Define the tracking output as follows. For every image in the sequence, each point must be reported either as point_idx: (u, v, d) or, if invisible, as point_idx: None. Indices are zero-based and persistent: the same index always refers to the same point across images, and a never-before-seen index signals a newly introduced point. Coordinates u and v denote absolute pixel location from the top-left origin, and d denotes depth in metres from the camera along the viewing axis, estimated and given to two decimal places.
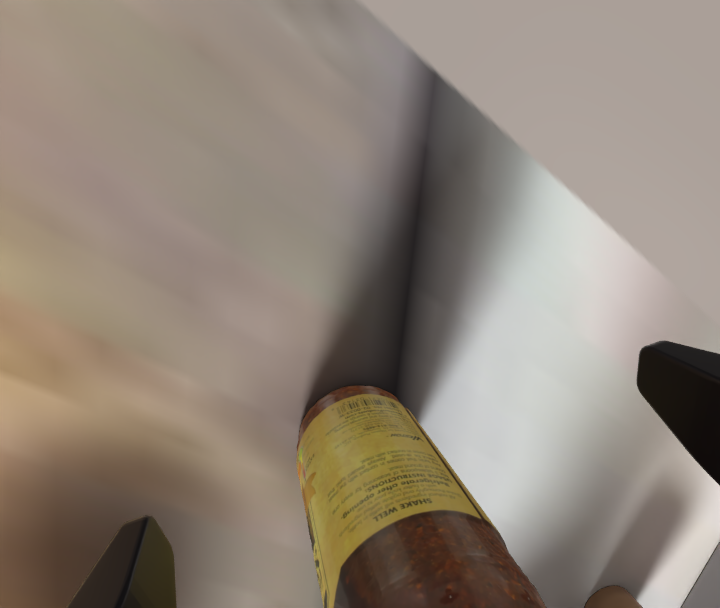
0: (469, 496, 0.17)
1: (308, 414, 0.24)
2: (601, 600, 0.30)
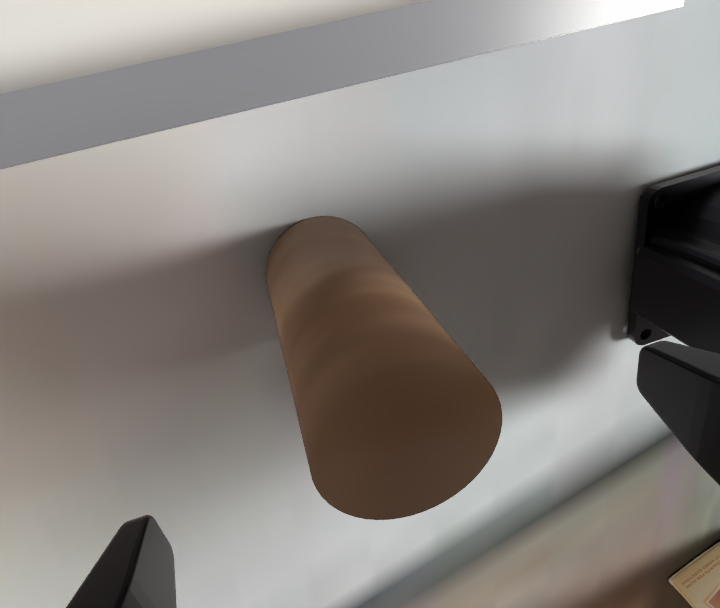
0: None
1: None
2: None
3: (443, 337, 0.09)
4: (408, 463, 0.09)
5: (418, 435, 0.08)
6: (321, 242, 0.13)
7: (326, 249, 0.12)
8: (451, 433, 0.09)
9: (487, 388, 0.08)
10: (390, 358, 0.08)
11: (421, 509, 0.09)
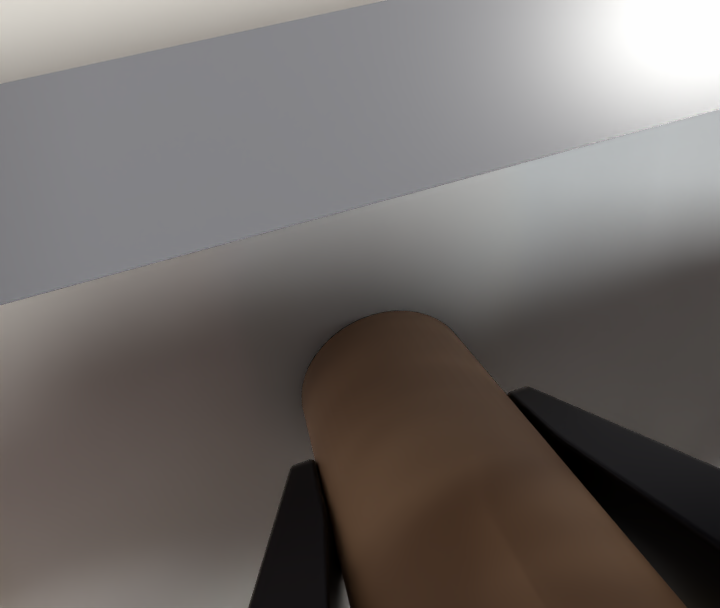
0: None
1: None
2: None
3: None
4: None
5: None
6: (408, 382, 0.07)
7: (424, 403, 0.07)
8: None
9: None
10: None
11: None
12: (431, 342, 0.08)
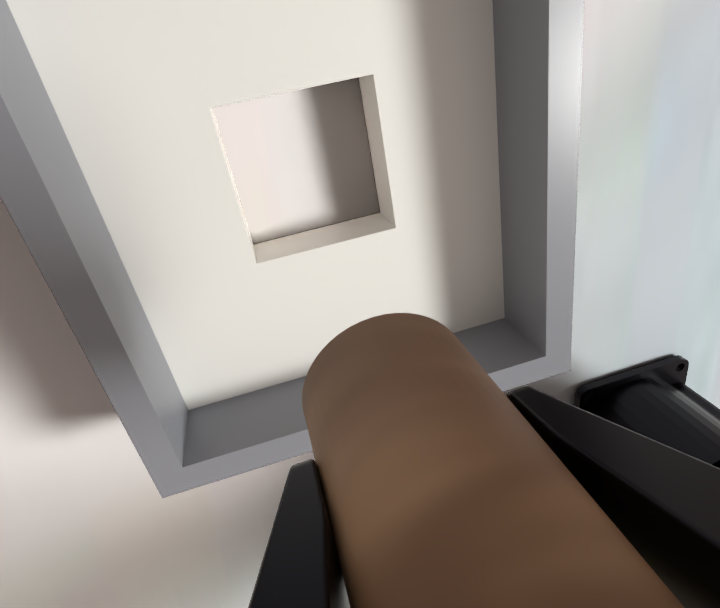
0: None
1: None
2: None
3: None
4: None
5: None
6: (409, 384, 0.07)
7: (423, 406, 0.07)
8: None
9: None
10: None
11: None
12: (431, 344, 0.08)
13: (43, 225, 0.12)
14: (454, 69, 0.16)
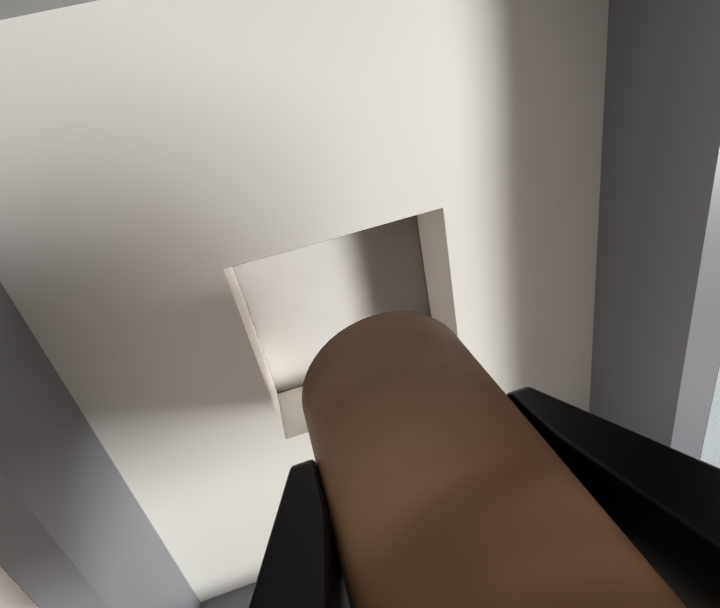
0: None
1: None
2: None
3: None
4: None
5: None
6: (409, 383, 0.07)
7: (424, 404, 0.07)
8: None
9: None
10: None
11: None
12: (432, 343, 0.08)
13: None
14: (548, 192, 0.12)
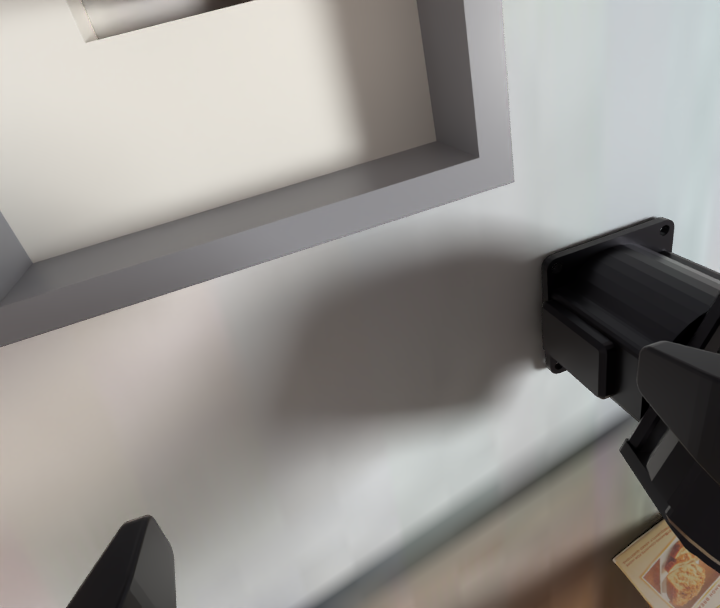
0: None
1: None
2: None
3: None
4: None
5: None
6: None
7: None
8: None
9: None
10: None
11: None
12: None
13: None
14: None
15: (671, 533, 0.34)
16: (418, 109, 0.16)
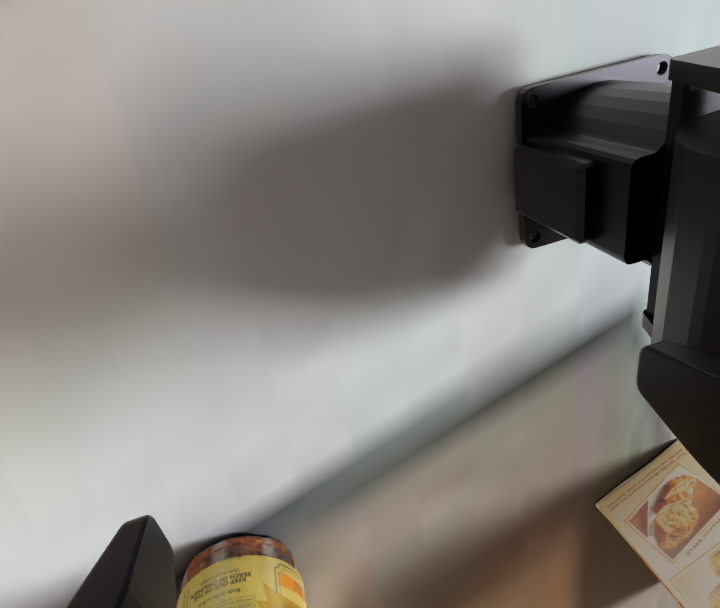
0: None
1: None
2: None
3: None
4: None
5: None
6: None
7: None
8: None
9: None
10: None
11: None
12: None
13: None
14: None
15: (661, 473, 0.30)
16: None
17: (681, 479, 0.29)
